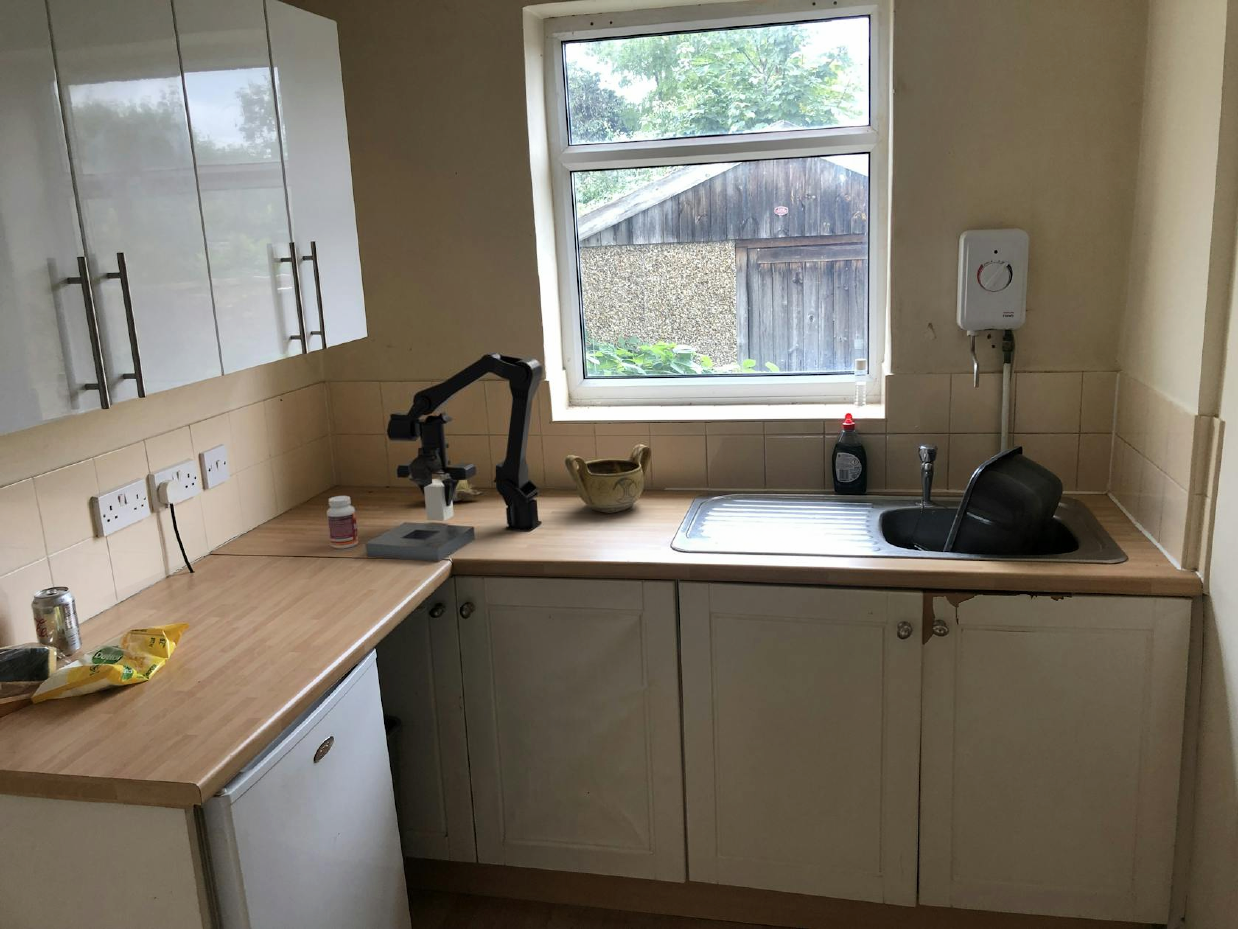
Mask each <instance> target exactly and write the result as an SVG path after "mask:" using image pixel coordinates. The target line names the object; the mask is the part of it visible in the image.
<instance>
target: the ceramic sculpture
mask: <svg viewBox="0 0 1238 929" xmlns="http://www.w3.org/2000/svg"><path fill="white" fill-rule="evenodd" d="M444 479H446V475H442V474H439V476H438V477H436V478H432V483H442V482H441V481H442V480H444ZM474 487H475V484H473V483H472V484H468V479H467V480H459V482H458V485H457V487H456V489H455V492H454V495H453V498H452V502H458V501H459V502H460V501H461V500H465V501H466V500H472V499H476V498H478V497H479V496H482V495H484V494H485V492H484V491H478V490H476V489H473V488H474Z"/></svg>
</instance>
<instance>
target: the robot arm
mask: <svg viewBox="0 0 1238 929" xmlns="http://www.w3.org/2000/svg"><path fill="white" fill-rule="evenodd" d="M489 374H493V375H496V376H497V377H500V378H501V379H503V380H506V381H507V380H508V387H509V391H510V394H511V397H512V400H511V401H512V402H511V409H510V418H509V428H508V437H507V444H506V452H505V453H506V454H505V459H504V460H503V461H501V462H500V463H497V465H495V478H494V480H493V483H494V484H495V488H496V491H497V492H498V494H499V495H501V497H502V499H503V501H504V504H505V506H506V508H505V516H506V525H507V526H505V530H511V531H512V530H513V531H527V532H529V531H530V532H531V531H532V530H534V529H537V527H538V526H541V525H542V524H543V523H542V521H541V520H539V513H538V511H539V510H538V500H537V499H536V498H537V497H538V496H539V495H538V494H539V492H540V488H539V487H538V486H537V485H536V484H535V483H534V482H533V481H531V479H530V475H529V474H530V473H529V466H528V463H527V460H526V458H527V457H526V455H527V454H526V453H527V447H528V446H527V445H528V439H529V429H530V424H531V423H530V421H531V415H532V405H533V399H534V397H535V394H536V392H537V390H538V388H539V385H540V382H541V379H542V377H543V376H542V375H543V367H542V365H541V363H540V362H539V361H538V360H537V359H536V358H533V357H526V358H524V359H523V358H521V357H515V356H509V355H504V354H500V353H497V352H490V353H487V354H486V353H485V354H484V355H483V356H482V357H481V358H480V359H478V360H476V361H475V362H473V363H471V364H470V365H468V366H467V367H465V368H464V369H463V370H460V371H459V372H458V373H456V374H454V375H452V376H451V377H450V378H448V379H446V380H444V381H443V382H441V383H438V384H435V385H433V386H430V387H428V388H425V389H423V390H420V391H418V392H416V393H415V394H414V395H413V400H412V406H411V407H410V409H409V410H408V412H407V413H404V412H403V413H402V412H393V413H390V415H389V417H390V419H389V421H388V424H387V428H386V433H387V437H388V439H389V440H390V441H391V442H417V440H418V438H419V439H420V447H418V448H417V449H418V450H417V456H416V457H415V458H414V459H413V460H407V461H405V462H402V463H401V464H398V465H397V467H396V469H395V473H396V474H395V475H396V477H397V478H403V479H404V478H405V479H407V478H409V477H410V478H409V481H410V482H413V483H415V484H416V485H417V487H418V488H419V489H420V492H421V493H422V495H423V497H424V498H425V494H424V487H426V486H428V485H430V484H432V479H433V475H440V474H442V475H446V479H444V480H442V481H441V482H442V483H443V485H444V487H445V501H446V506H450V504H451V501H452V498H453V495H454V492H455V489H456V487H457V485H458V482H459V480H467V481H468V479H471V478H472V477H474V476H476V475H477V467H476V466H475V465H474V463H470V462H469V463H468V462H459V463H457V464H455V465H453V466H449V465H451V460H449V459H448V454H447V449H449V448H450V445H449V443H448V442H447V443H446V433H445V432H446V431H445V425H446V424H448V423H449V422H452V421H453V418H452V417H451V416H450V415H448V414H447V413H446V412H445V411H443V412H441V413H439V414H438V415H432V414H433V413H436V412H438V411H440V410H442V409H443V408H444V407H445V406H447V405H448V404H449V403H450V402H451V401H452V399H453V398H454V397H455V396H456V395H457V394H459V393H460V392H462V391H463V390H465V389H466V388H468V387H470V386H471V385H473V384H474V383H476V382H478V381H479V380H481V379H483V378H484V377H485V376H488V375H489ZM424 416H426V417H425V418H422V417H424ZM452 502H453V501H452Z"/></svg>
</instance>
